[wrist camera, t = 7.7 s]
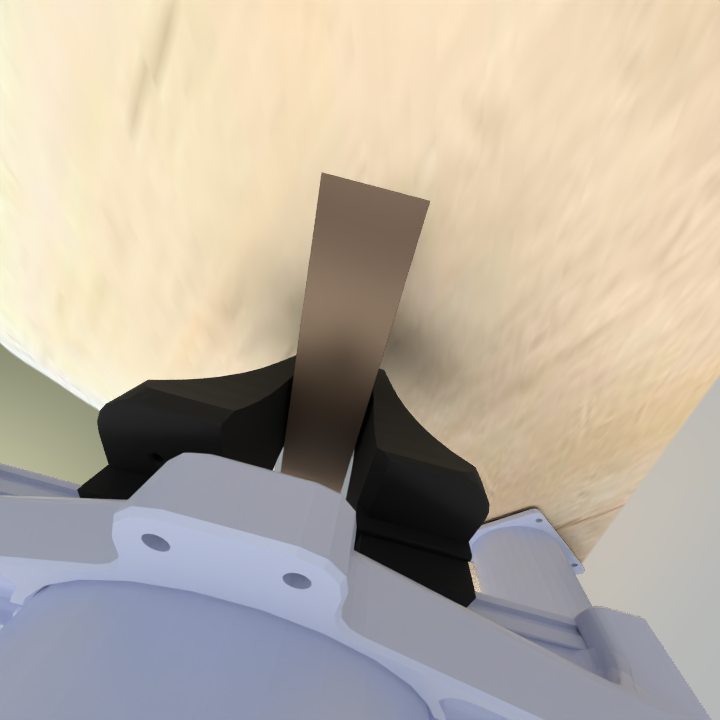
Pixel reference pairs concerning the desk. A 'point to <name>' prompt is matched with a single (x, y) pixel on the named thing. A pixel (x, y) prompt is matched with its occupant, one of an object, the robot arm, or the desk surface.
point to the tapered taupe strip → (346, 320)
